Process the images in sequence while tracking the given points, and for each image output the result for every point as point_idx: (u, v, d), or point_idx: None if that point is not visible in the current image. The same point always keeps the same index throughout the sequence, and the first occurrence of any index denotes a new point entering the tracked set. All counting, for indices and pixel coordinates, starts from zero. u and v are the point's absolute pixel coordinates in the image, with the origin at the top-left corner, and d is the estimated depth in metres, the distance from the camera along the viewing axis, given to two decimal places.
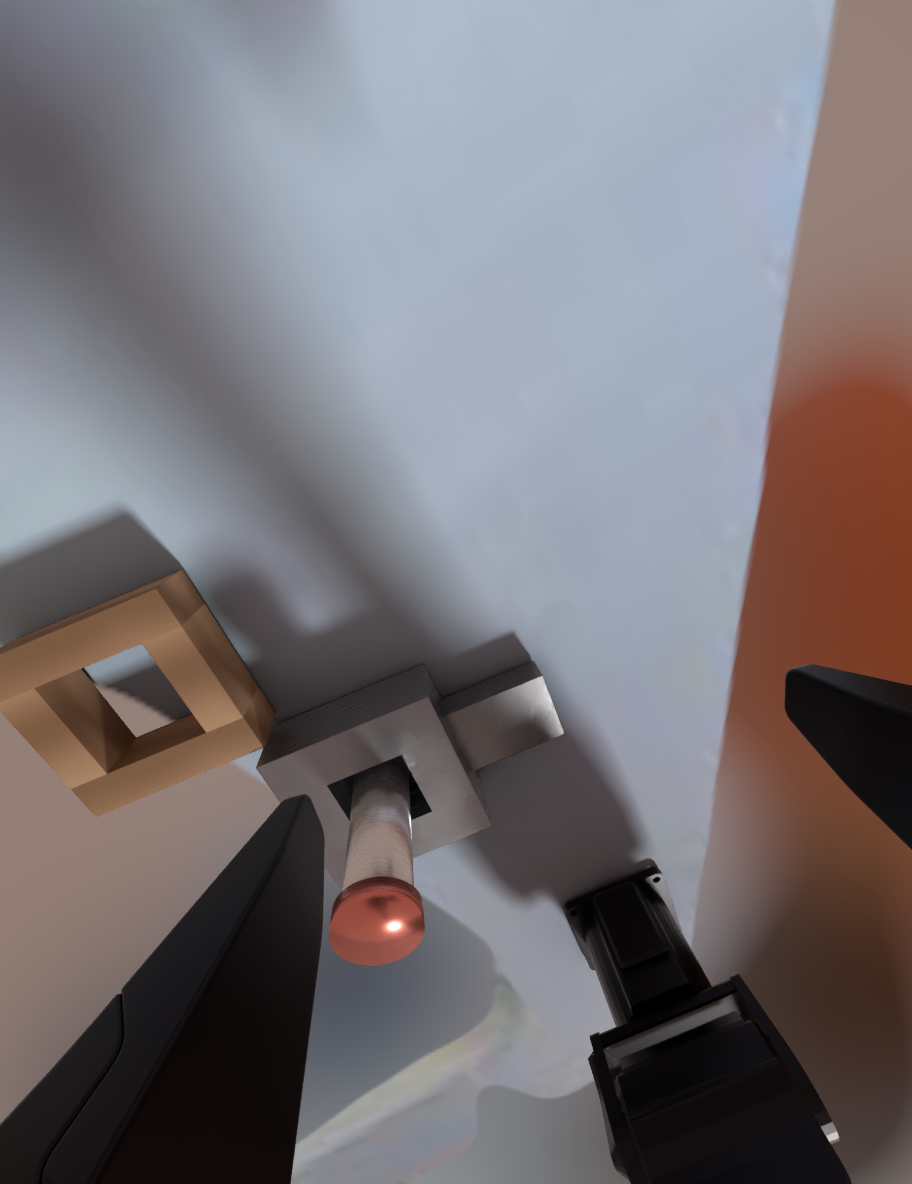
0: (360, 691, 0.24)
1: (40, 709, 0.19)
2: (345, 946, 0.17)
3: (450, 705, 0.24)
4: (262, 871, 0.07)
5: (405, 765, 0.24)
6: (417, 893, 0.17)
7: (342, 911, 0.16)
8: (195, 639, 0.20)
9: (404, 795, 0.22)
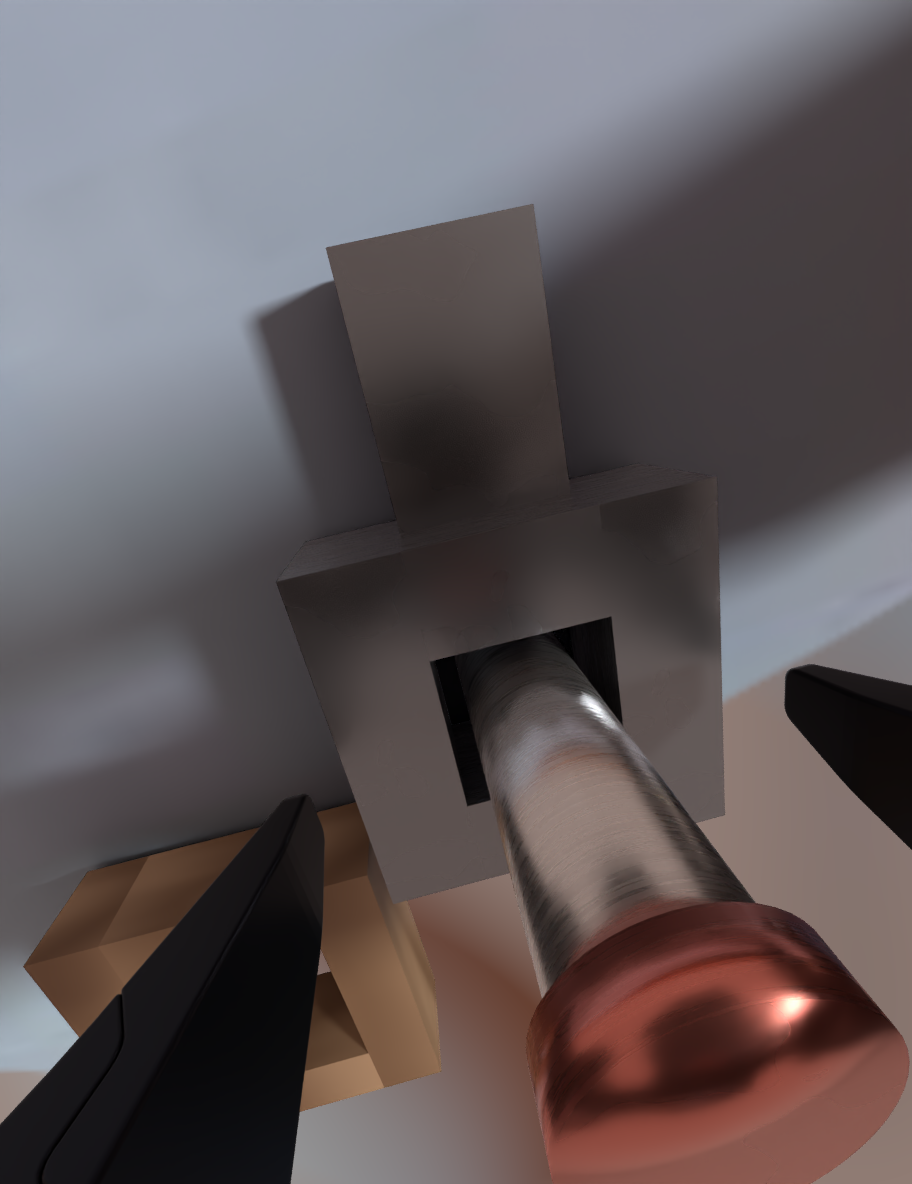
0: None
1: None
2: None
3: None
4: (262, 871, 0.07)
5: None
6: (660, 929, 0.04)
7: None
8: (139, 923, 0.12)
9: (520, 685, 0.09)
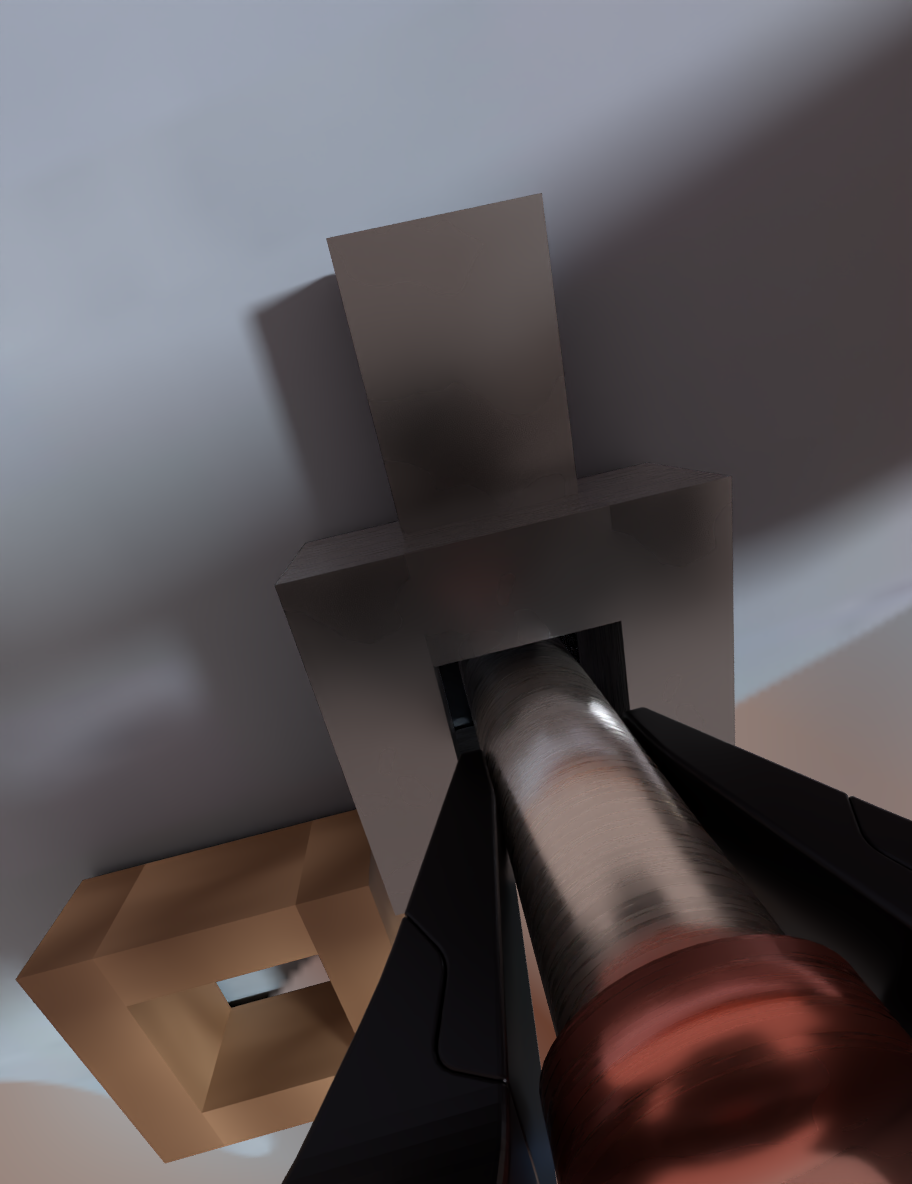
0: None
1: (239, 1111, 0.13)
2: None
3: None
4: (486, 812, 0.07)
5: None
6: (685, 964, 0.04)
7: None
8: (134, 934, 0.11)
9: (527, 692, 0.09)
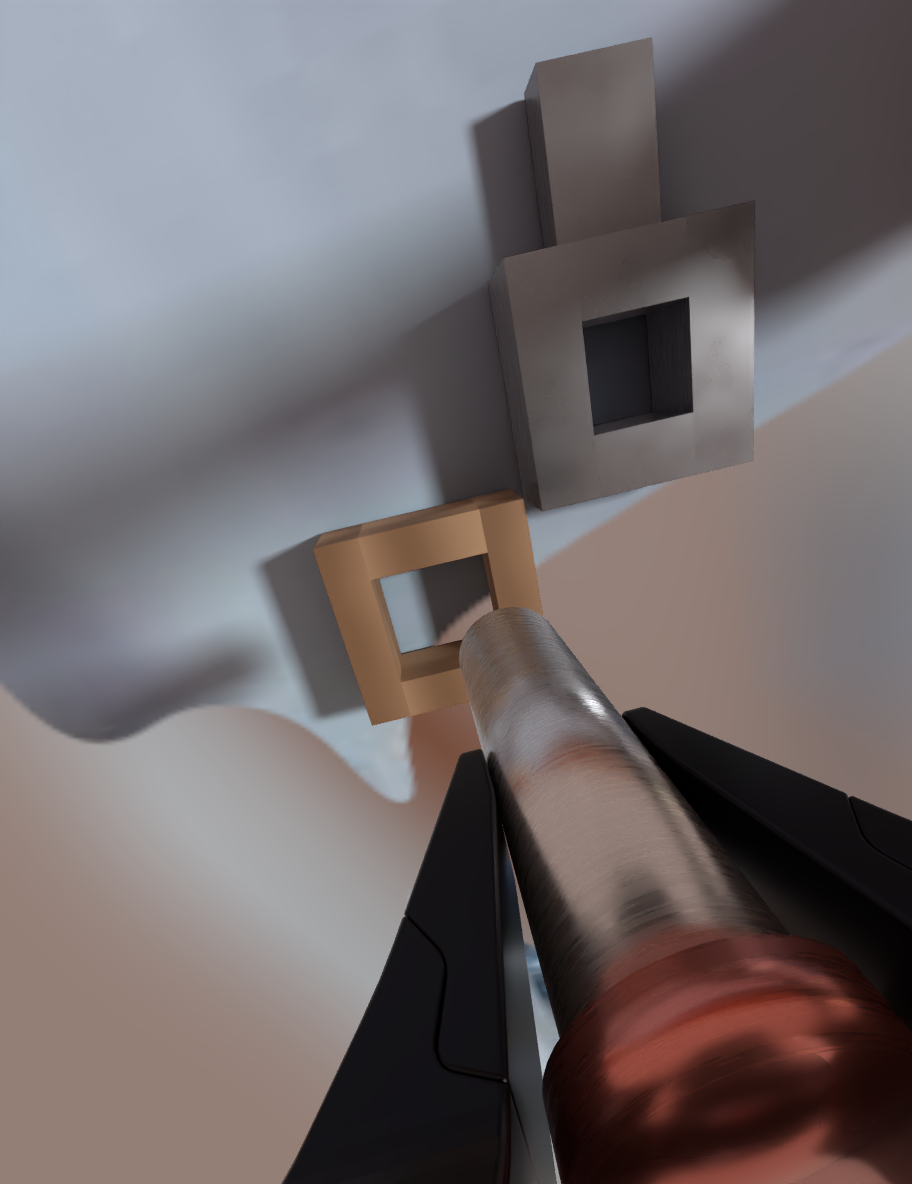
0: (504, 380, 0.19)
1: (423, 685, 0.20)
2: None
3: None
4: (486, 812, 0.07)
5: (511, 635, 0.11)
6: (690, 964, 0.04)
7: None
8: (378, 531, 0.18)
9: (529, 691, 0.09)
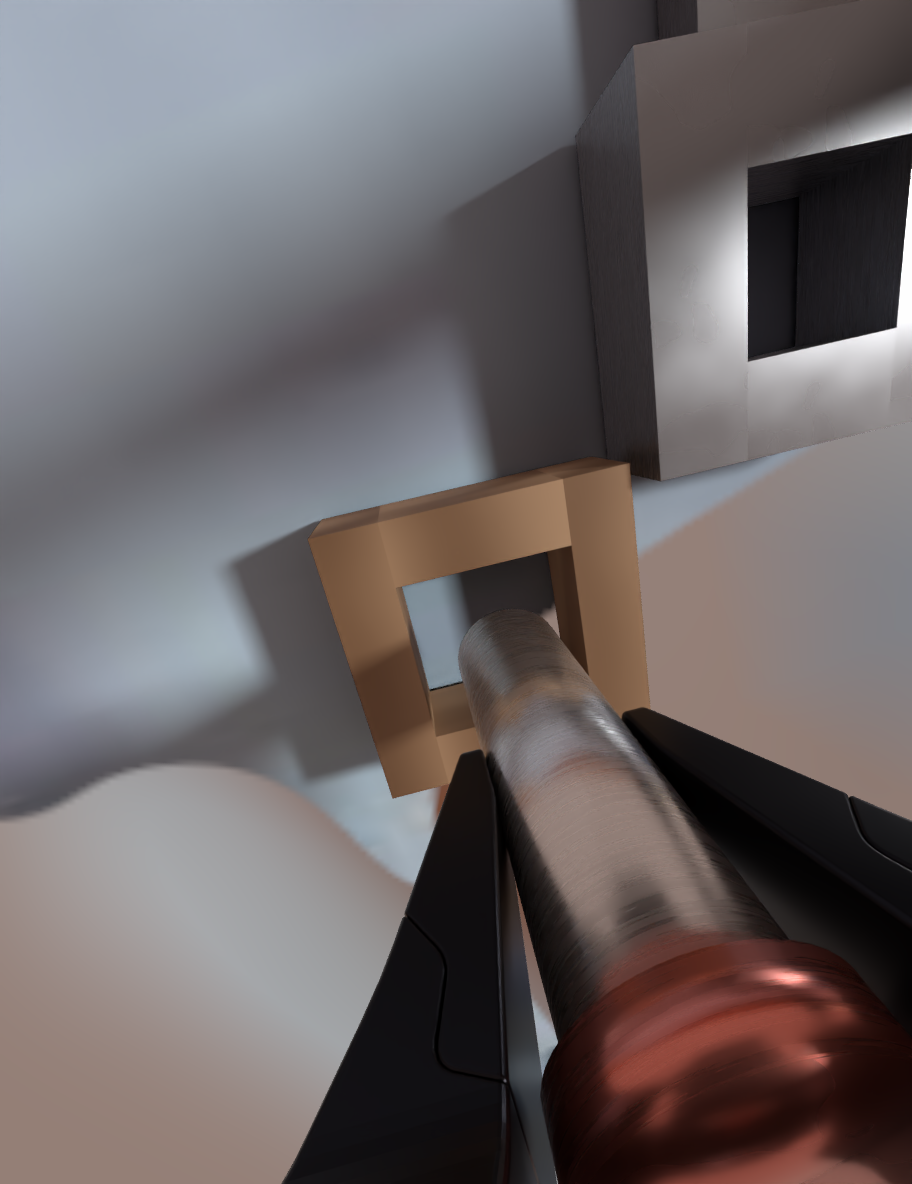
0: (592, 292, 0.13)
1: (469, 739, 0.14)
2: None
3: None
4: (486, 812, 0.07)
5: (510, 637, 0.11)
6: (688, 970, 0.04)
7: None
8: (408, 512, 0.12)
9: (528, 693, 0.09)
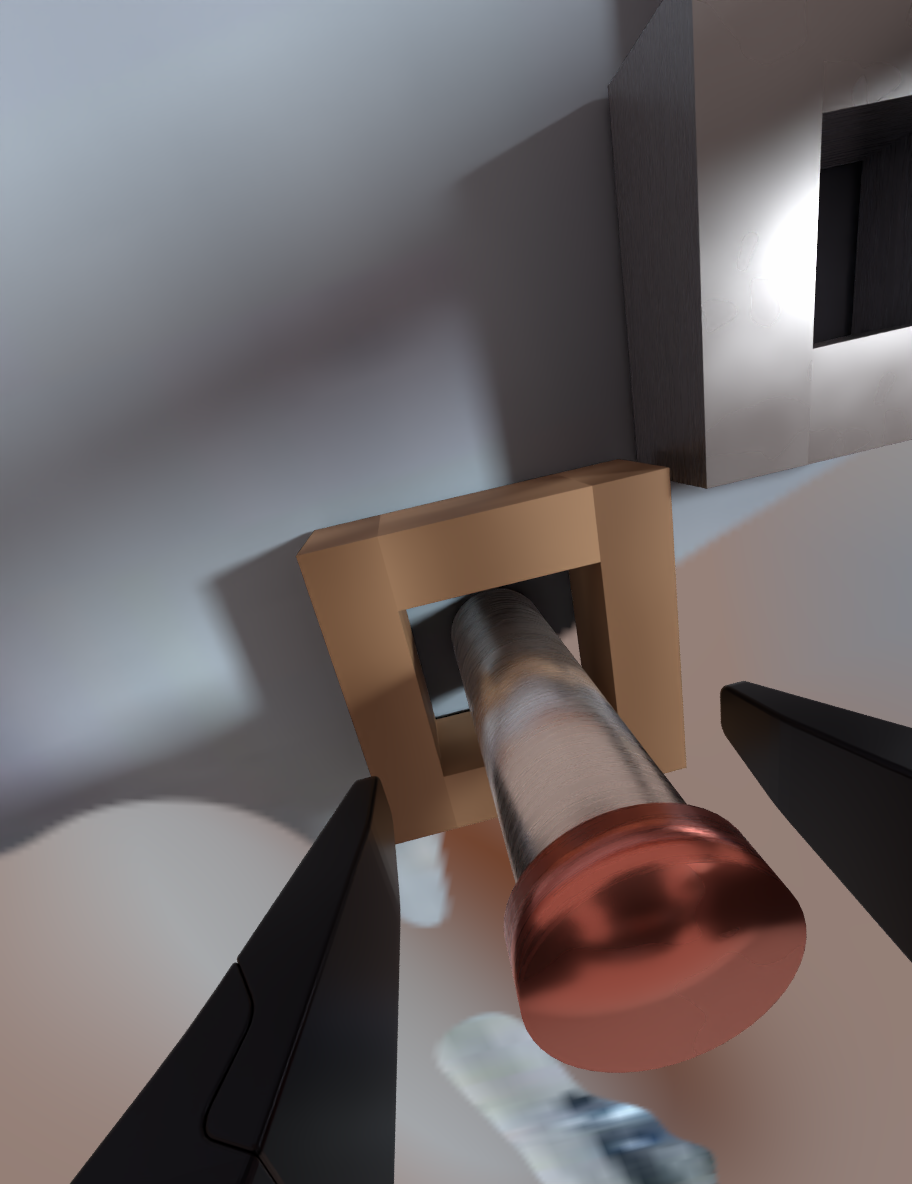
0: (624, 270, 0.11)
1: (480, 779, 0.12)
2: (676, 1043, 0.06)
3: None
4: (353, 847, 0.07)
5: (496, 611, 0.12)
6: (609, 821, 0.05)
7: (540, 1045, 0.05)
8: (413, 524, 0.10)
9: (508, 653, 0.10)
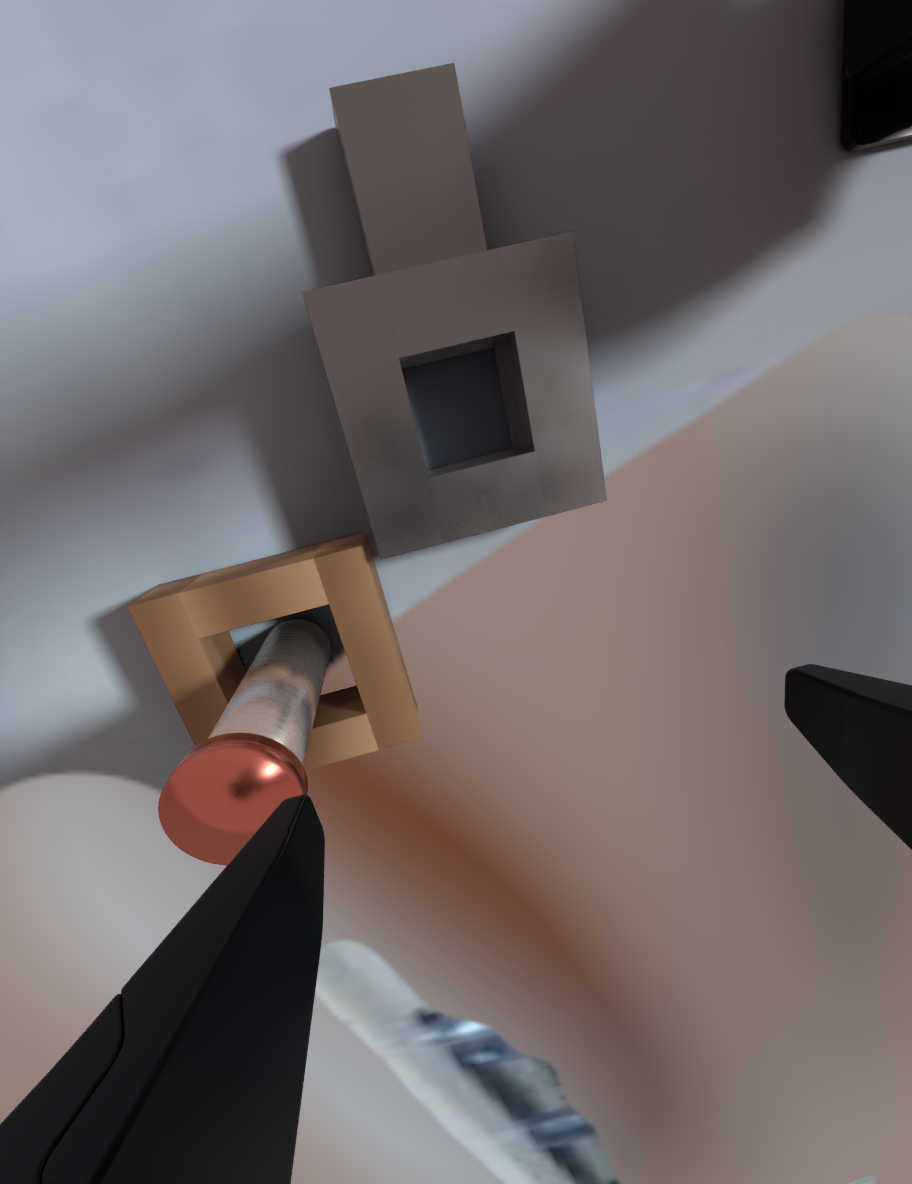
0: None
1: None
2: None
3: None
4: (262, 871, 0.07)
5: (277, 636, 0.18)
6: (208, 740, 0.12)
7: (179, 847, 0.12)
8: (204, 584, 0.17)
9: (258, 663, 0.16)
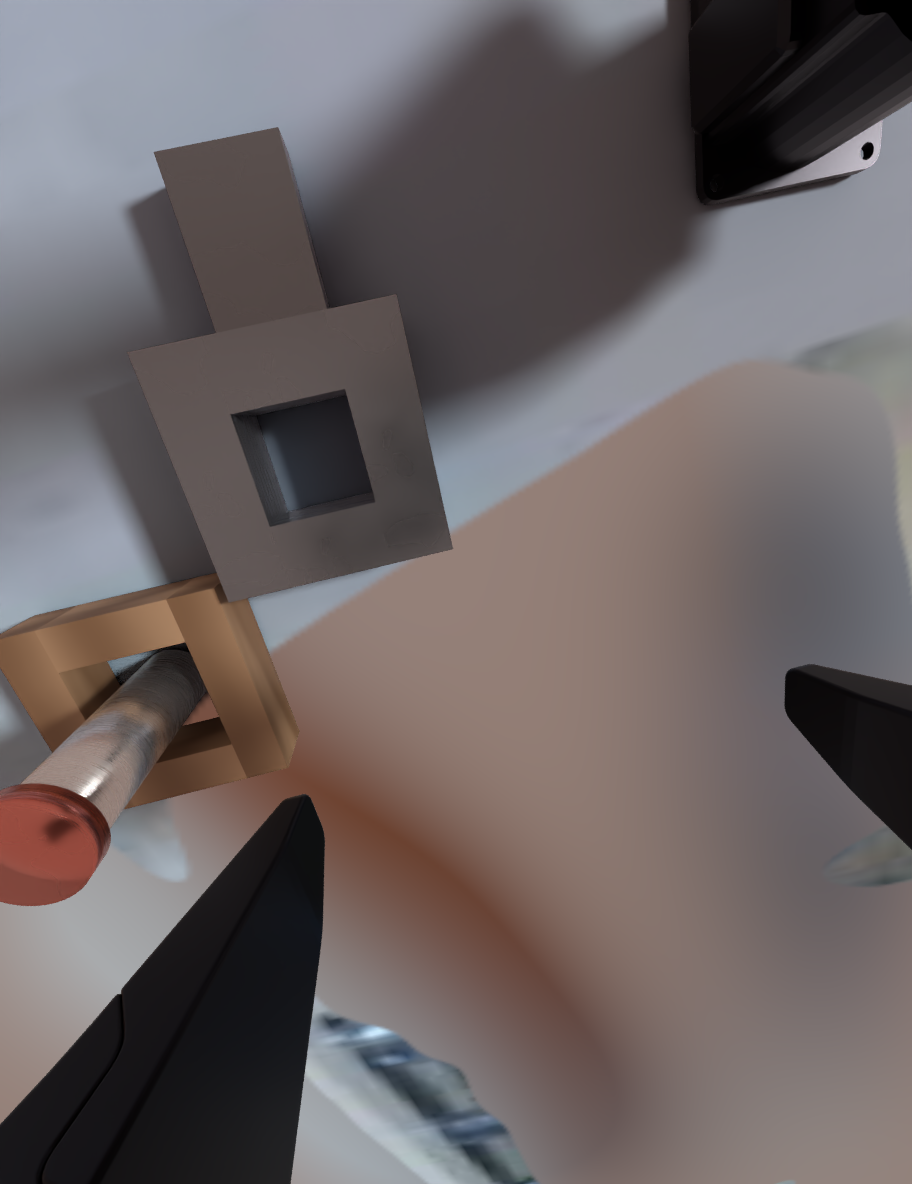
0: None
1: None
2: (48, 892, 0.13)
3: None
4: (262, 871, 0.07)
5: (144, 668, 0.19)
6: (2, 791, 0.12)
7: None
8: (62, 621, 0.17)
9: (108, 700, 0.17)
